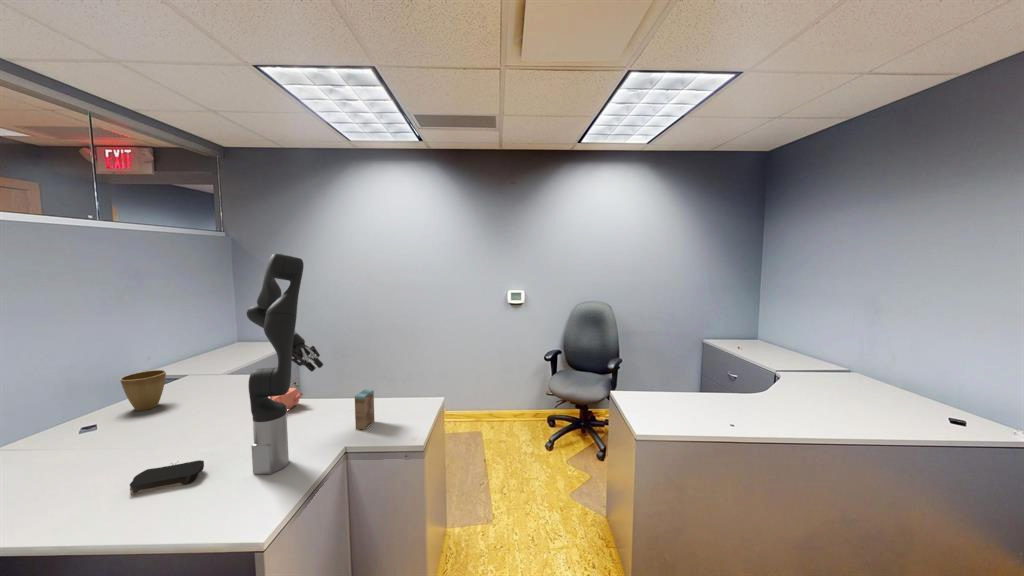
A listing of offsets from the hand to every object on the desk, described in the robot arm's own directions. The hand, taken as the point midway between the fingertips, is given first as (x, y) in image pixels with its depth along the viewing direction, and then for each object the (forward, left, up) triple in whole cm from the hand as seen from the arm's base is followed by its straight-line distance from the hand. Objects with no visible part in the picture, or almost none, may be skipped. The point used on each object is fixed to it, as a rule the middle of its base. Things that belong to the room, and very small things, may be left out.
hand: (317, 368), depth 145 cm
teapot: (+14, +26, -24) cm, 38 cm away
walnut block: (0, -20, -24) cm, 31 cm away
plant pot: (+10, +94, -24) cm, 98 cm away
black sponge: (-41, +22, -25) cm, 53 cm away
